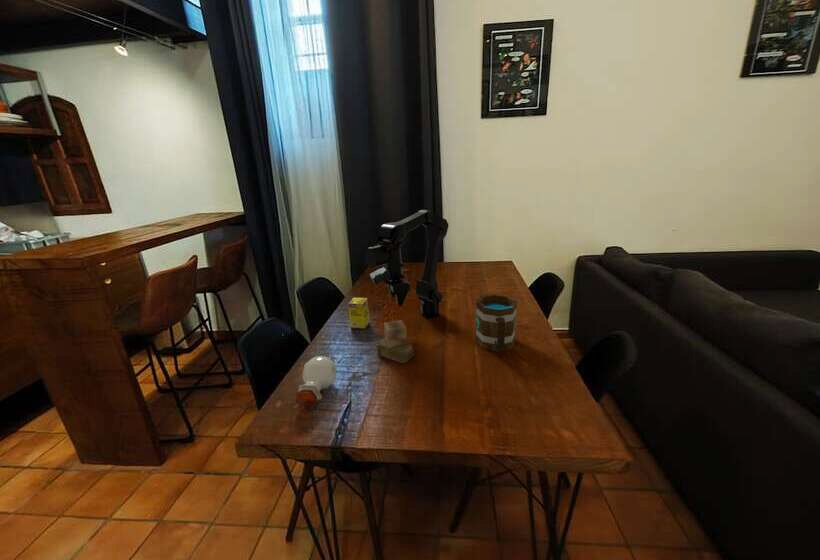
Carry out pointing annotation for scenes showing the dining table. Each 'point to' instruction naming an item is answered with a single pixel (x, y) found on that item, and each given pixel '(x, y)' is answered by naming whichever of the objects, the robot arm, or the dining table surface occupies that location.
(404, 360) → the stone block
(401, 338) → the beige cube
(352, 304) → the supplement box
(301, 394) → the potion bottle
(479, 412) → the dining table surface
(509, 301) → the mug
